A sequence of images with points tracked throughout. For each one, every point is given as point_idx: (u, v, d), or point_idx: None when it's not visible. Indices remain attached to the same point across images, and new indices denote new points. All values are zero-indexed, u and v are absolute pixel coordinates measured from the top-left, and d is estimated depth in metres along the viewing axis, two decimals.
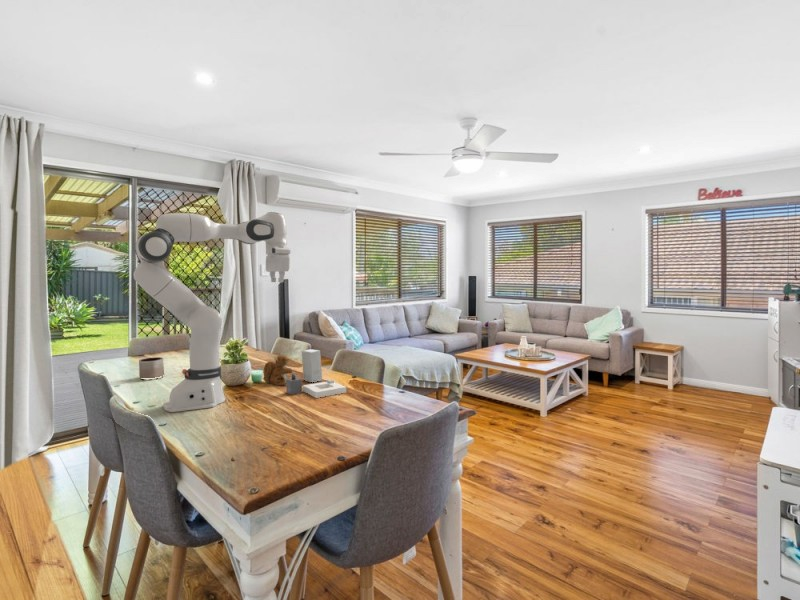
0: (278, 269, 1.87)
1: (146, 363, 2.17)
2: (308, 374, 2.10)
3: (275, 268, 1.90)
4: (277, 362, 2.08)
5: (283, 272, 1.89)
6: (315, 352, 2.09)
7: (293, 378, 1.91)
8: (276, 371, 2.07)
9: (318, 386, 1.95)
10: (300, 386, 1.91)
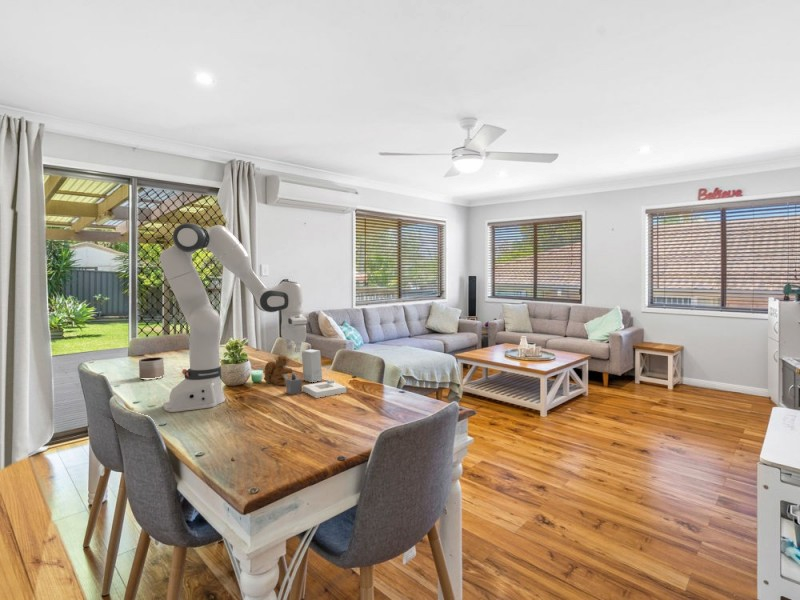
0: (295, 340, 1.84)
1: (146, 363, 2.17)
2: (308, 374, 2.10)
3: (291, 338, 1.87)
4: (278, 362, 2.08)
5: (300, 342, 1.86)
6: (315, 352, 2.09)
7: (293, 378, 1.91)
8: (277, 371, 2.07)
9: (318, 386, 1.95)
10: (300, 386, 1.91)
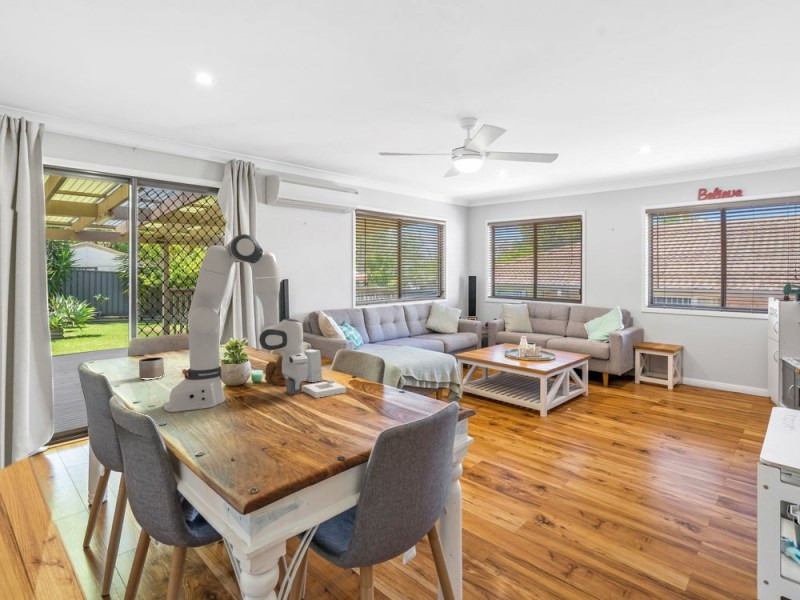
0: (295, 378, 1.85)
1: (146, 363, 2.17)
2: (308, 374, 2.10)
3: (292, 376, 1.88)
4: (278, 362, 2.08)
5: None
6: (315, 352, 2.09)
7: None
8: (277, 371, 2.07)
9: (318, 386, 1.95)
10: (300, 386, 1.91)
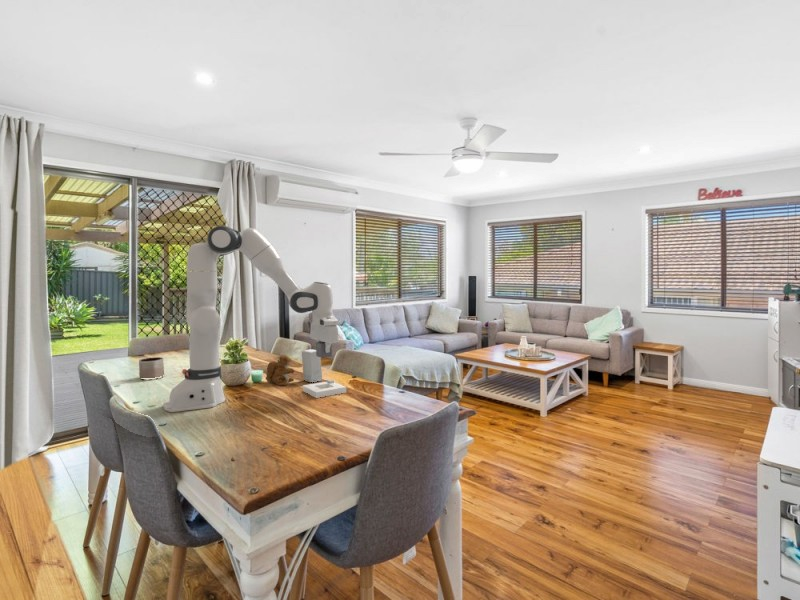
0: (326, 341, 1.85)
1: (146, 363, 2.17)
2: (308, 374, 2.10)
3: (323, 339, 1.88)
4: (279, 362, 2.08)
5: None
6: (315, 352, 2.09)
7: None
8: (278, 371, 2.07)
9: (318, 386, 1.95)
10: (330, 349, 1.91)
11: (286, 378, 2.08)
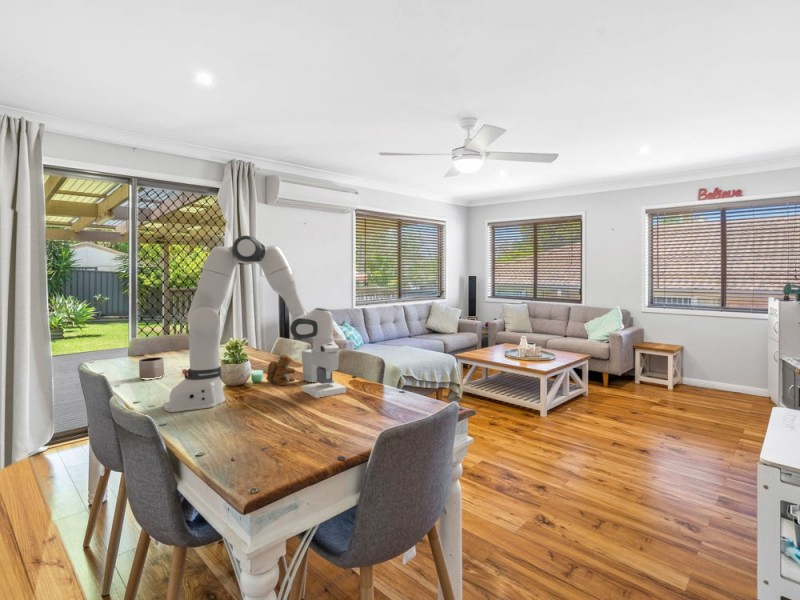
0: (327, 367, 1.86)
1: (146, 363, 2.17)
2: (308, 374, 2.10)
3: (323, 365, 1.89)
4: (279, 362, 2.08)
5: None
6: None
7: None
8: (278, 371, 2.07)
9: (318, 386, 1.95)
10: (331, 375, 1.92)
11: (286, 378, 2.08)
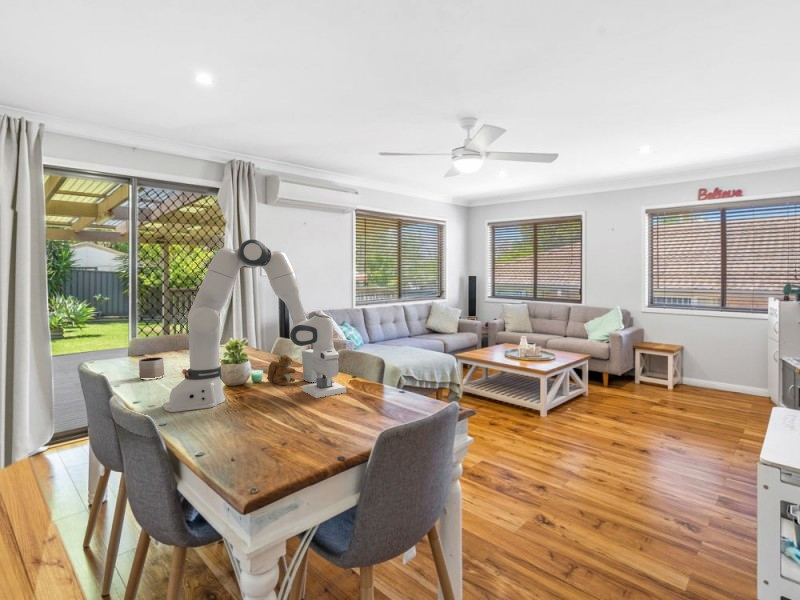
0: (327, 374, 1.86)
1: (146, 363, 2.17)
2: (308, 374, 2.10)
3: (323, 372, 1.89)
4: (280, 362, 2.08)
5: (331, 376, 1.88)
6: None
7: (323, 377, 1.92)
8: (279, 371, 2.07)
9: None
10: None
11: (287, 378, 2.08)
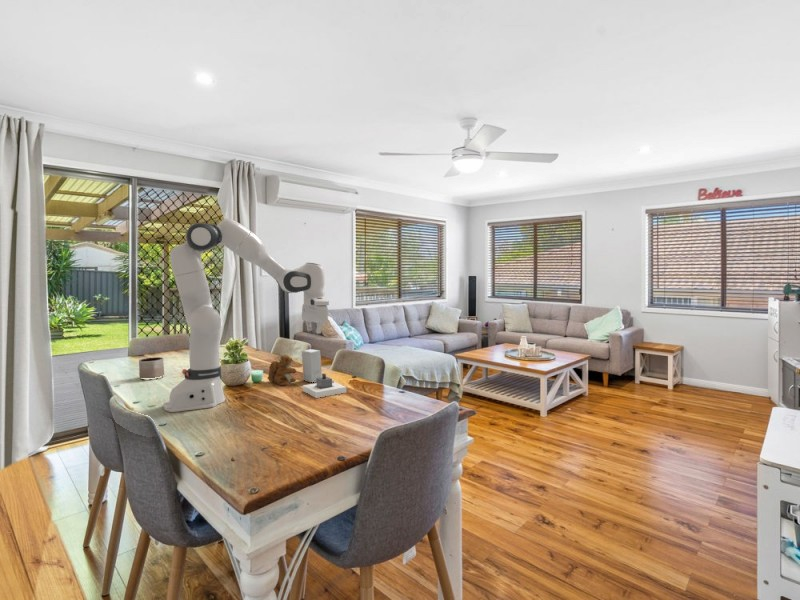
0: (316, 321, 1.86)
1: (146, 363, 2.17)
2: (308, 374, 2.10)
3: (313, 319, 1.89)
4: (281, 362, 2.08)
5: (321, 323, 1.88)
6: (315, 352, 2.09)
7: (323, 377, 1.92)
8: (279, 371, 2.07)
9: None
10: (330, 385, 1.92)
11: (287, 378, 2.08)
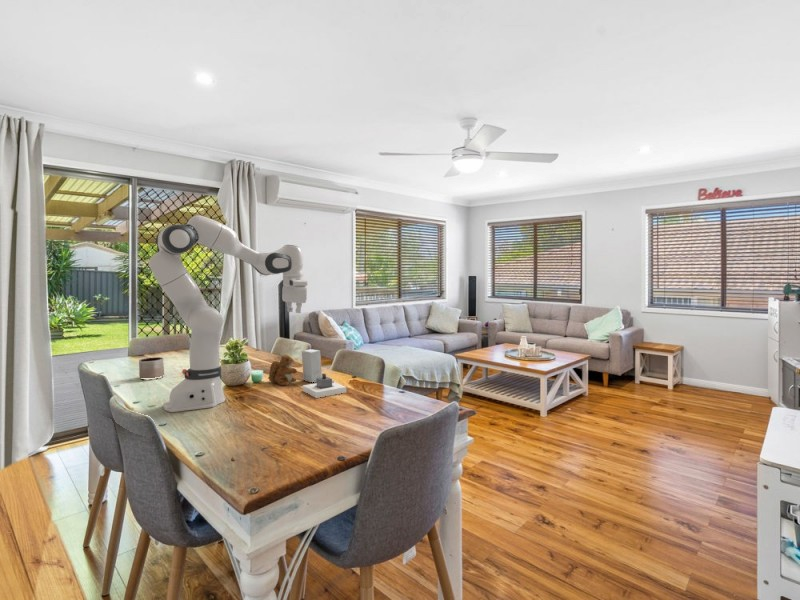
0: (295, 301, 1.92)
1: (146, 363, 2.17)
2: (308, 374, 2.10)
3: (292, 299, 1.95)
4: (281, 362, 2.08)
5: (300, 303, 1.94)
6: (315, 352, 2.09)
7: (323, 377, 1.92)
8: (280, 371, 2.07)
9: None
10: (330, 385, 1.92)
11: (288, 378, 2.08)
